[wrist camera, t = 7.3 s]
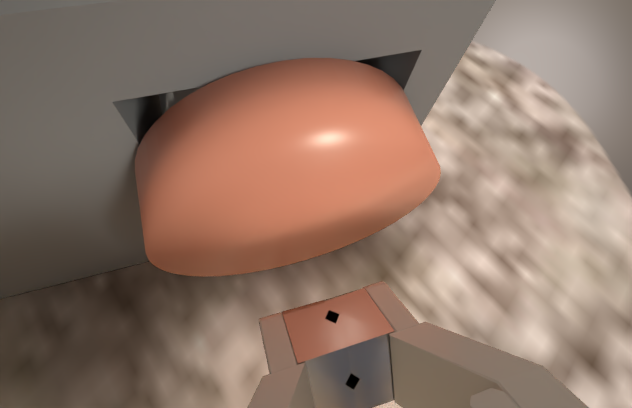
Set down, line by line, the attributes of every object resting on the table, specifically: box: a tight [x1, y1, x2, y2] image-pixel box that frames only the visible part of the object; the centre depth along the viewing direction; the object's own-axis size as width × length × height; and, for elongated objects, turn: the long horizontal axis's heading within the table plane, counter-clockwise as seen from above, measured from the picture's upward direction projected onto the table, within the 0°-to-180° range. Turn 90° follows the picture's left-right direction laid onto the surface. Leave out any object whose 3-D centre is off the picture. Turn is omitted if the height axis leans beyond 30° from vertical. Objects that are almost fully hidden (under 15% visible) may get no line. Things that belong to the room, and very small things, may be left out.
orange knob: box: [135, 58, 441, 276], centre depth 11 cm, size 7×8×7 cm
